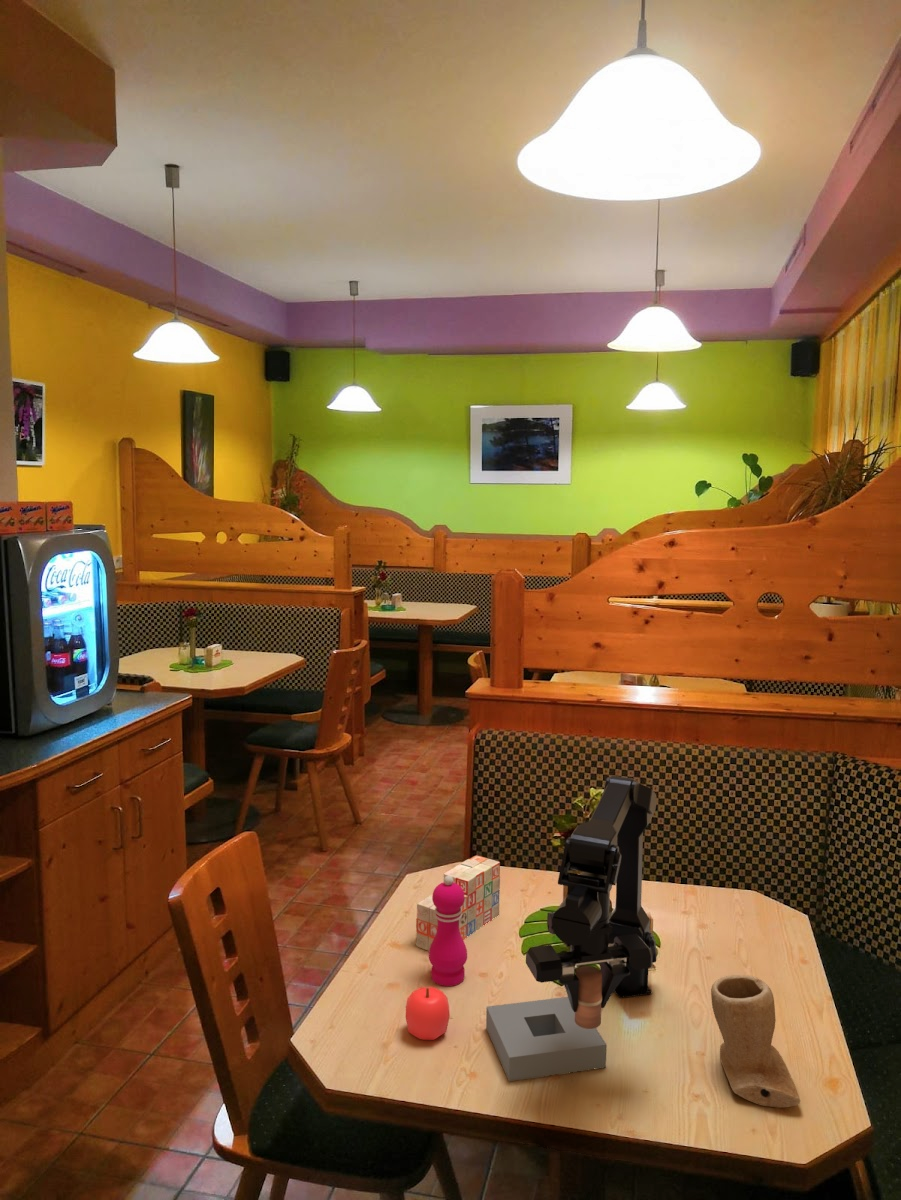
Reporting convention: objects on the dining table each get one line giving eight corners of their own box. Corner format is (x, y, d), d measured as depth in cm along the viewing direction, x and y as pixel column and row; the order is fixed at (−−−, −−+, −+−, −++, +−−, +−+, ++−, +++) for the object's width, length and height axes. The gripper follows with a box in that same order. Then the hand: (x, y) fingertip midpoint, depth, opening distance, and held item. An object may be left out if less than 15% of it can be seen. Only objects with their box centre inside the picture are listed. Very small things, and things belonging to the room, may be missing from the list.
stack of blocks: (440, 957, 177) (441, 897, 175) (415, 947, 180) (415, 888, 179) (499, 915, 194) (500, 860, 192) (475, 907, 198) (476, 853, 196)
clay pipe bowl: (702, 1046, 149) (706, 960, 147) (776, 1051, 148) (781, 966, 146) (718, 1108, 134) (723, 1014, 132) (801, 1115, 133) (807, 1021, 131)
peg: (595, 1011, 142) (596, 963, 141) (605, 1027, 138) (607, 978, 137) (570, 1014, 141) (571, 967, 140) (580, 1031, 137) (581, 982, 136)
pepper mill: (463, 990, 165) (464, 886, 162) (424, 985, 166) (425, 882, 164) (470, 969, 172) (471, 869, 169) (433, 965, 173) (433, 866, 171)
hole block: (575, 1017, 157) (575, 995, 156) (605, 1067, 143) (606, 1044, 143) (486, 1028, 153) (486, 1006, 153) (509, 1081, 140) (509, 1057, 139)
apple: (441, 1051, 147) (441, 1005, 146) (396, 1041, 150) (396, 996, 149) (457, 1024, 154) (457, 980, 153) (414, 1014, 157) (414, 971, 156)
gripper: (624, 883, 147) (622, 972, 149) (515, 896, 143) (514, 987, 145) (655, 916, 136) (652, 1011, 138) (538, 930, 132) (537, 1029, 134)
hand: (587, 1008), depth 139 cm, fingers closed on peg, 4 cm apart
